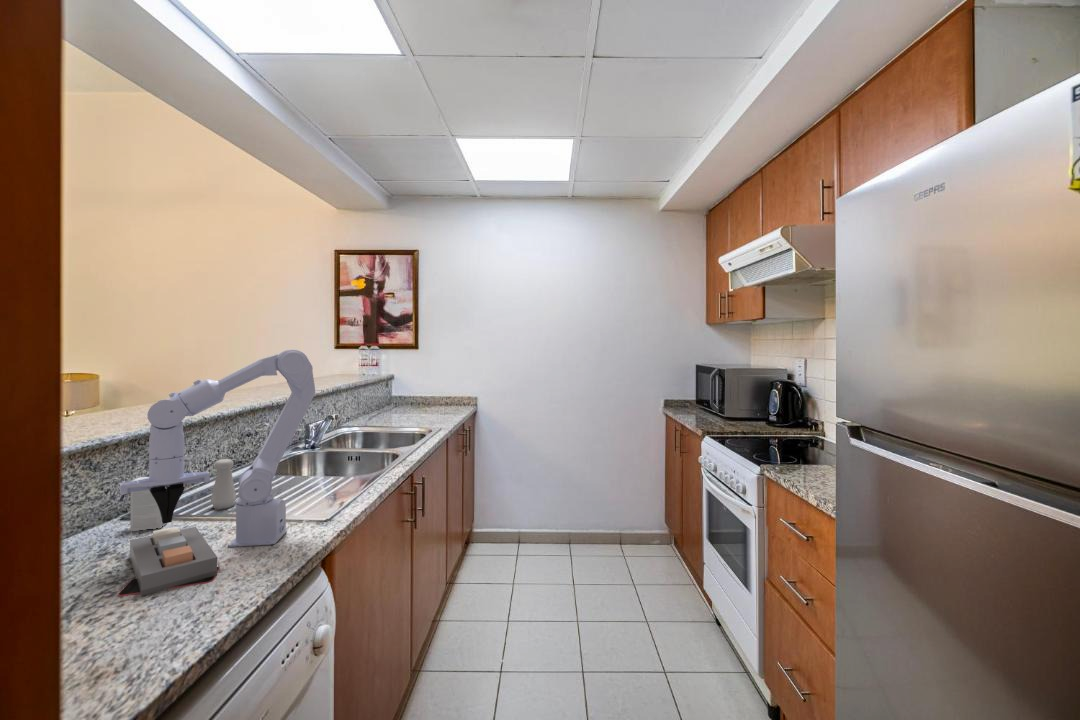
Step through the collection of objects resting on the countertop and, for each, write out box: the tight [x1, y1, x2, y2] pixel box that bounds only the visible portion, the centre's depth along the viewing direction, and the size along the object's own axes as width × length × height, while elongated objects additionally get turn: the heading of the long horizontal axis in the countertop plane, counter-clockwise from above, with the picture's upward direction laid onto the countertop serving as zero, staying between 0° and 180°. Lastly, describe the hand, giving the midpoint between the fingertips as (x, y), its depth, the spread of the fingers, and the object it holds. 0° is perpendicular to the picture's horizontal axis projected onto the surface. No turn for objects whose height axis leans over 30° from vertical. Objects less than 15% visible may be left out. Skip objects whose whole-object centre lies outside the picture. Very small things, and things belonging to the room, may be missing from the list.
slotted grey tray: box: [129, 526, 218, 597], centre depth 92 cm, size 22×11×4 cm, turn 45°
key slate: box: [158, 535, 186, 555], centre depth 92 cm, size 4×4×2 cm
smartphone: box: [117, 566, 221, 598], centre depth 86 cm, size 7×1×14 cm
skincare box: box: [129, 476, 168, 532], centre depth 112 cm, size 6×4×12 cm
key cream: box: [152, 525, 181, 545], centre depth 97 cm, size 4×4×2 cm
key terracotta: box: [162, 545, 193, 567], centre depth 87 cm, size 4×4×2 cm
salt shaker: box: [210, 458, 237, 510], centre depth 128 cm, size 6×6×13 cm
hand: (166, 521), depth 97 cm, fingers closed
